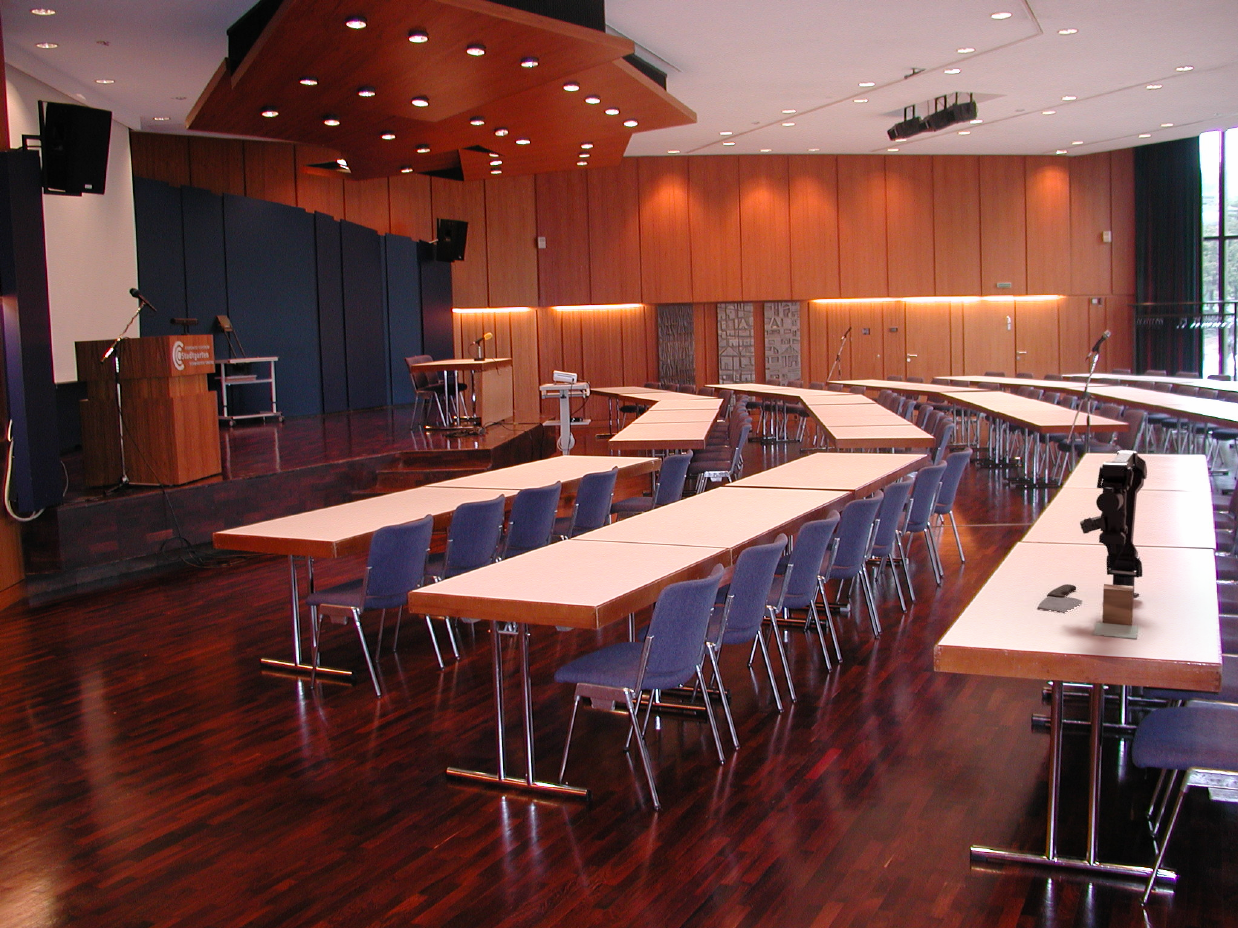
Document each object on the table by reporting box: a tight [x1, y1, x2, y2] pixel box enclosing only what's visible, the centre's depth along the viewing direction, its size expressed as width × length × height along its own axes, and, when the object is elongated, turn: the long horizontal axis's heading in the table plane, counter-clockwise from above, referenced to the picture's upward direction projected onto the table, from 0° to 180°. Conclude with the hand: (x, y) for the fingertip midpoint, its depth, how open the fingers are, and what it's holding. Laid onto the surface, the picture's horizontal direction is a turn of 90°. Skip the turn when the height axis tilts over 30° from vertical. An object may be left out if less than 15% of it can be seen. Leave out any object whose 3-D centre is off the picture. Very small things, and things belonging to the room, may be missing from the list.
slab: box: [1102, 583, 1134, 626], centre depth 275 cm, size 3×7×10 cm, turn 62°
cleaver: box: [1037, 583, 1083, 614], centre depth 301 cm, size 29×10×2 cm, turn 146°
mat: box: [1092, 621, 1139, 640], centre depth 268 cm, size 12×10×1 cm
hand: (1112, 563), depth 288 cm, fingers open, 3 cm apart
